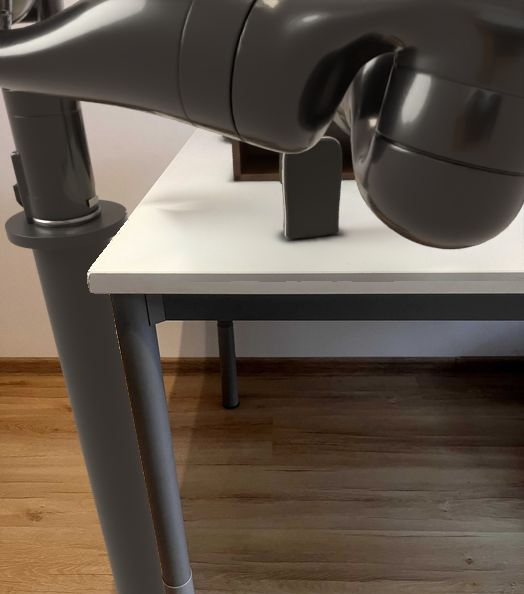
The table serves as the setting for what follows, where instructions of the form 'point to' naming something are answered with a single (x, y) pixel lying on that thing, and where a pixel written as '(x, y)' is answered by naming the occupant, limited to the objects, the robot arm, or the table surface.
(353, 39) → the robot arm
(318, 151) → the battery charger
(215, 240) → the table surface
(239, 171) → the shelf
